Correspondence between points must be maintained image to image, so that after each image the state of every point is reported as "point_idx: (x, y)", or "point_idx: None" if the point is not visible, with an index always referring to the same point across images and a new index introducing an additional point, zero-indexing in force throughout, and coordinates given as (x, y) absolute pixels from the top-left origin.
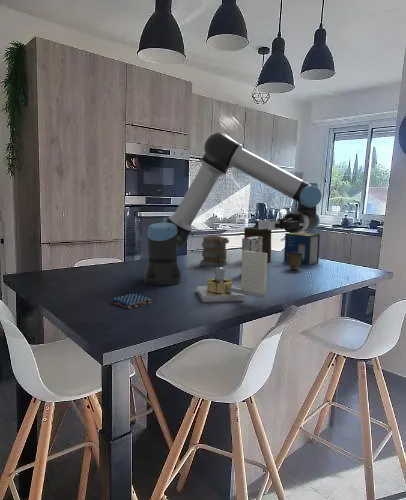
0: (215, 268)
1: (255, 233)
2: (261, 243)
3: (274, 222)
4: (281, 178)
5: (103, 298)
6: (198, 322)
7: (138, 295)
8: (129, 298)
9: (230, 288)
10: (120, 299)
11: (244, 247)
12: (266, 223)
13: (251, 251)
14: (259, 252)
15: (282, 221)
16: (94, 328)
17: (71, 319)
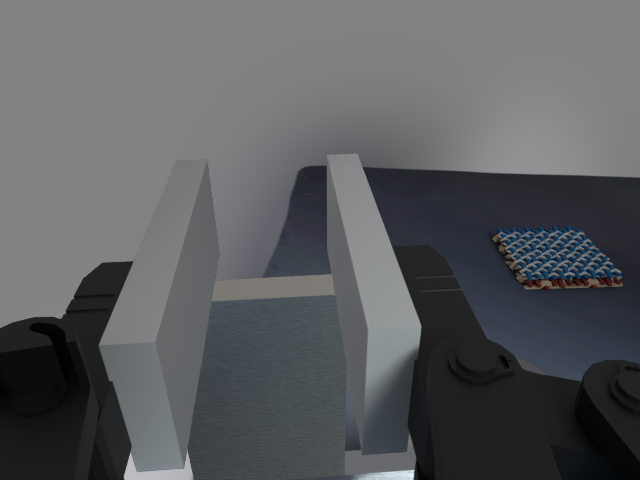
0: (525, 363)
1: None
2: None
3: (152, 233)
4: None
5: (631, 240)
6: (286, 273)
7: (590, 272)
8: (563, 250)
9: (410, 448)
10: (559, 235)
11: None
12: (346, 279)
13: (285, 291)
14: (217, 293)
15: (13, 366)
16: (404, 181)
17: (478, 177)
